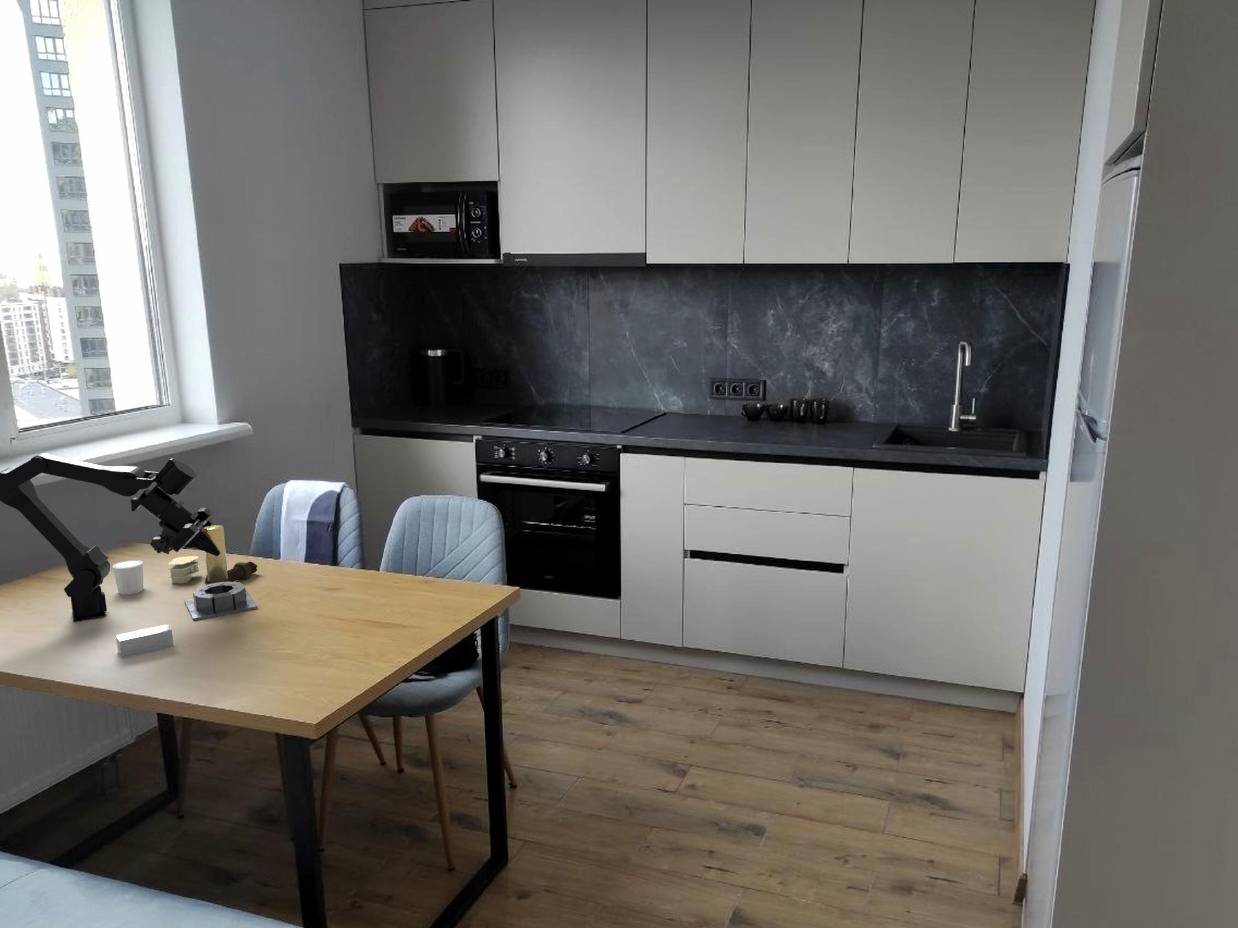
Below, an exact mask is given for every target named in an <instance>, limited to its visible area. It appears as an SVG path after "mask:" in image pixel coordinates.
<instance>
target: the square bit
mask: <svg viewBox="0 0 1238 928" xmlns="http://www.w3.org/2000/svg"><path fill="white" fill-rule="evenodd" d="M115 638H116V639H115V640H116V645H117V654H118V655H119V657H120V659H125V658H129V657H133V656H139V655H143V654H147V653H152V652H155V651H159V650H164V649H165V650H166V649H168V648H173V647H174V646H175V645H174V644H175V643H174V639H173V638H174V637H173V630H172V628H171V627H170V625H169V624H163V625H158V626H153V627H148V628H143V629H139V630H134V631H130V632H126V633H120V634H117V635H115Z"/></svg>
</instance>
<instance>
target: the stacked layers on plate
mask: <svg viewBox="0 0 1238 928" xmlns="http://www.w3.org/2000/svg"><path fill="white" fill-rule="evenodd" d="M198 558H199V556H197V555H190V556H189V555H187V556H178V557H174V558H173V559H172V560H171V561H170V562H169V563H168V565H171V566H170V567H169V568H168V571H170V575H169V578H171V584H186V583H187V582H188V581H190V580H191V579H192V575H194V574H196V573H198V572H200V571H201V569H200V568H199V564H200V561H198V560H197V559H198Z"/></svg>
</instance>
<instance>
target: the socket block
mask: <svg viewBox="0 0 1238 928" xmlns="http://www.w3.org/2000/svg"><path fill="white" fill-rule="evenodd" d="M184 604H185V606H186V608H187V610H188V612H189V615H190V616H191V618H192V620H193V621H194V622H195V621H199V620H203V619H208V618H215V617H220V616H221V617H222V616H225V615H230V614H231V615H232V614H235V613H236V614H237V613H240V612H242V613H243V612H245V611H246V612H247V611H252V610H257V609H258V605H257V603H256V602H255V601H254V599H253V598H252V596H251V595H250V594H249V592H248V590H247V589H246V586H245V585H244V584H243V583H242V582H240V581H239V582H238V581H234V582H219V583H213V584H207V585H206V584H205V585H202V586H200V587H198V588H196V589H194V590H193V591H192V598H190V599H189V598H188V599H184Z"/></svg>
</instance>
